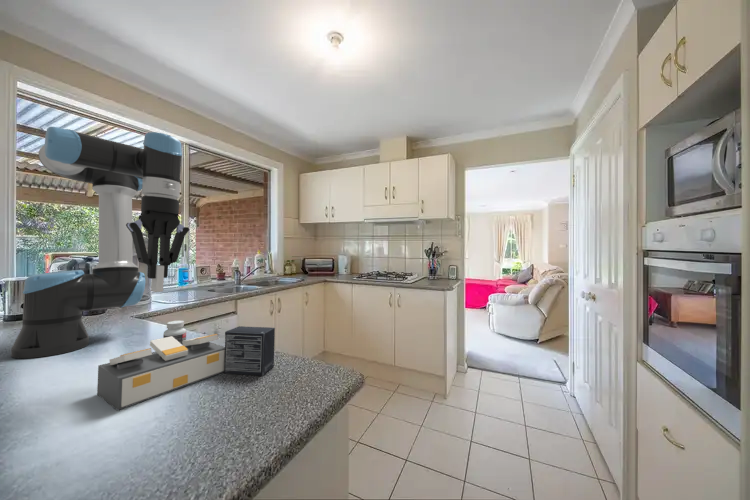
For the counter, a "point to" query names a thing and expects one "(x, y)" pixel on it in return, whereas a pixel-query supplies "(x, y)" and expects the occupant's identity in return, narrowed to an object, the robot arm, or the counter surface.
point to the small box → (249, 350)
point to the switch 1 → (131, 356)
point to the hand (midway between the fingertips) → (157, 291)
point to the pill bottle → (176, 331)
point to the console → (157, 374)
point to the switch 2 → (168, 348)
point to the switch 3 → (200, 340)
